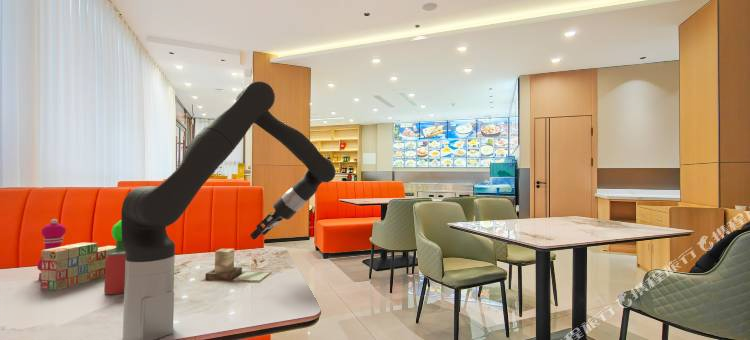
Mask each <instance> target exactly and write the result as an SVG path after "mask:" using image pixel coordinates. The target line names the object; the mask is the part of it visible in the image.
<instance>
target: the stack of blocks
mask: <svg viewBox="0 0 750 340" xmlns="http://www.w3.org/2000/svg"><path fill="white" fill-rule="evenodd" d="M114 251H116V245H106V246H101V247H99V244H98V242H77V243H72V244H66V245H63V246H62V245H61V247H56V248H51V249H46V250H45V249H42V250H41V257H42V260H41V271H40V273H41V279H40V283H39V284H40V286H39V289H40V290H46V289H48V290H49V291H58V289H59V290H62V288H63V289H66V288H69V286H70V287H73V286H76V285H79V283H80V284H83V283H86V281H87V282H90V281H92V280H96V279H99V278H102V276H103V277H105V261H106V258H107V256H108V253H110V252H114ZM95 278H96V279H95ZM89 280H90V281H89ZM75 284H76V285H75ZM72 285H73V286H72ZM65 287H66V288H65Z"/></svg>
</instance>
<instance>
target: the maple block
mask: <svg viewBox="0 0 750 340" xmlns="http://www.w3.org/2000/svg"><path fill="white" fill-rule="evenodd" d="M234 267H235V248H220V249H217V250H215V251H214V269H215V273H230V272H232V271H233V270H234Z"/></svg>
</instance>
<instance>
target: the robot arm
mask: <svg viewBox="0 0 750 340" xmlns="http://www.w3.org/2000/svg"><path fill="white" fill-rule="evenodd" d="M275 98H276V95H275V91H274V89H273V88H272V86H271V85H270V84H269V83H267V82H264V81H252V82H249V84H247V85H246V86H245V87H244V88H243V89H242V90H241V91H240V92H239V94H238V95H237V96H236V99H235V102H234V103H233V104H232V105H231V106H229V107H228V108H227V109H226V110H224V111H223V112H222V113H220V114H219V115H217V117H215V118H214V119H213V120H212V121H210V122H209V123H208V124H206V126H204V127H203V128H202V129H201V130H200V131H199V133H197V134H196V135H195V137H193V138H192V140H191V141H190V143H189V144H188V145H187V148H186V150H185V152H184V156H183V158H182V160H181V162H180V164H179V166H178V167H177V169H175V170H174V171H173V172H172V173H171V174H170V176H168V177H167V178H166V179H165V180H164V181H162V182H161V183H160V184H159V185H157V186H155V185H154V186H153V185H148V186H147V185H146V186H143V185H142V186H139V187H136V188H134V189H132V190H130V191H129V192H128V193H127V194H126V195H125V197H124V200H123V203H122V205H121V213H120V214H121V217H120V220H121V227H122V245H123V248H124V250H125V254H126V258H125V259H126V260H125V285H124V293H123V319H122V320H123V321H122V322H123V323H122V340H158V339H161V338H164V337H166V336H168V335H171V334H174V312H175V311H174V306H175V292H174V290H175V288H174V287H175V286H174V285H175V262H176V261H175V260H176V257H175V256H176V246H175V245H176V244H175V242H174V241H173V240H172V239H171V238H170V237H169V235H168V233H167V227H169V226H171V225H172V224H174V223H176V222H177V221H178V220H179V219H180V218H181V216H182V215H183V213H184V212H185V211H186V210H187V209H188V207H189V205H190V203H192V201H193V200H194V198H195V196H196V195H197V193H199V191H200V190H201V188H202V187H203V186H204V184H205V183H206V182H207V181H208V180H209V179H210V178H211V177H212V175H213V174H214V173H215V172H216V170H217V169H218V168H219V167H220V166H221V165H222V164H223V163H224V162H225V161H226V160H227V158H228V157H229V156H230V155H231V154H232V153H233V152H234V150H235V149H236V148H237V146H238V145H239V144H240V142H241V141H242V140H243V138H244V137H245V136H246V134H247V133H248V131H249V130H250V129H251V127H252V125H254V124H255V125H257V126H258V127H259V128H261V129H262V130H263V131H265V132H266V133H268V134H269V135H271V136H272V137H273V138H274V139H276V140H277V141H278V142H280V143H281V144H282V145H283V146H284V147H285V148H286V149H288V150H289V152H290V153H291V154H293V155H294V157H296V158H297V159H298V160H299V161H300V162H301V163H302V164H303V165H304V166H305V167H306V168H307V171H306V172H305V174H304V175H303V176H302V178H300V179H299V180H298V181H297V182H296V183H295V184H294V185H292V187H291V188H289V189H288V190H287V191H285V193H283V195H281V196H280V197H279V198H278V200H276V201H275V202H274V204H273V205H272V206H273V209H274V212H270V213H268V214H267V216H265V218H264V219H263V220H261V222H259V223H258V224H257V225H256V228H255V229H254V230H253V231H252V233H251V234H250V238H251V239H252V240H256V239H258V238H259V236H261V235H263V236H265V235H267V234H268V233H269V232H270V231H271V230H272V229H274V228H275V227H276V226H278V225H279V224H280V223H281V222H282V221H283V219H284V220H290V219H291V218H292V217H293V216H295V214H297V213H298V211H299V210H301V208H303V206H304V205H305V204H306V203H307V202H308V200H310V199H311V198H312V197H313V196H314V195H315V194H316V193H317V191H318V188H319V186H320V185H321V184H322V183H330V182H331V181H333V180H334V179H335V176H336V167H335V166H334V164H333V162H332V161H331V160H330V159H329V158H327V157H324V156H323V154H321V153H320V152H319V150H318V148H317V147H316V145H315V144H313V143H312V142H311V140H310V139H309V138H308V137H307V136H306V135H304V134H303V133H302V132H301V131H299V130H298V129H295V128H294V127H292V126H289V125H287V124H285V123H284V122H282V121H281V120H279V119H277V118H276V117H275V116H274V115H273V114H272V113H271V112H270V111H269V110H270V109H272V107H273V105H274V103H275ZM263 226H264V227H263Z"/></svg>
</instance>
